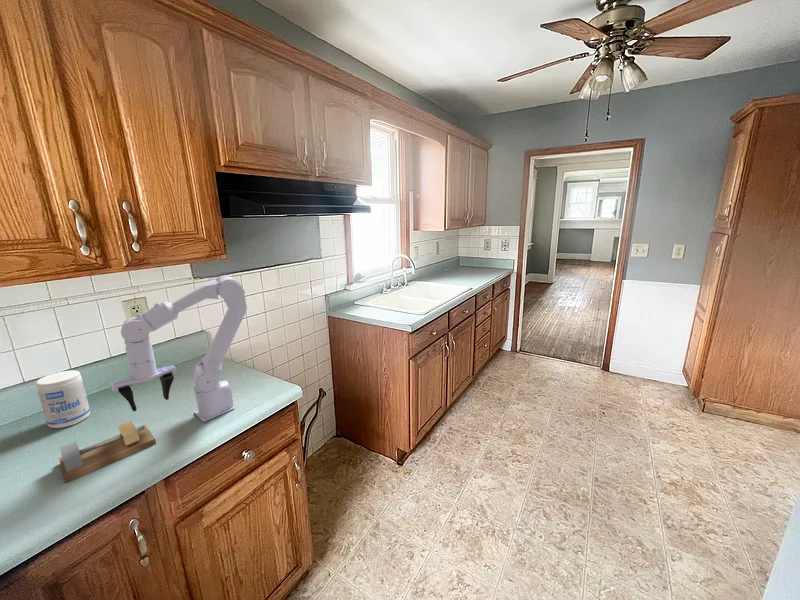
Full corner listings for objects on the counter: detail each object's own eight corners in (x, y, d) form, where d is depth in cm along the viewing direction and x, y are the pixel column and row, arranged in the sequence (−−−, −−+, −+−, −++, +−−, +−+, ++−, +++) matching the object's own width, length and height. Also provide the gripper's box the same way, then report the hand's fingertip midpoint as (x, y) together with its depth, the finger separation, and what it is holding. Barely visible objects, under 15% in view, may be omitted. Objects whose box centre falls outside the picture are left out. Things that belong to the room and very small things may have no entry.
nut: (133, 430, 94) (131, 420, 93) (139, 440, 89) (137, 430, 88) (120, 435, 91) (117, 425, 91) (125, 446, 87) (123, 436, 86)
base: (146, 428, 97) (142, 414, 96) (156, 443, 91) (152, 427, 90) (60, 463, 84) (55, 446, 83) (65, 483, 78) (59, 465, 76)
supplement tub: (55, 433, 96) (40, 388, 92) (43, 424, 100) (28, 380, 97) (97, 415, 104) (85, 373, 100) (84, 408, 109) (72, 367, 105)
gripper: (167, 348, 99) (175, 389, 103) (104, 364, 89) (115, 409, 92) (175, 354, 95) (183, 397, 98) (110, 372, 84) (121, 419, 87)
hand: (150, 404), depth 95 cm, fingers open, 7 cm apart
